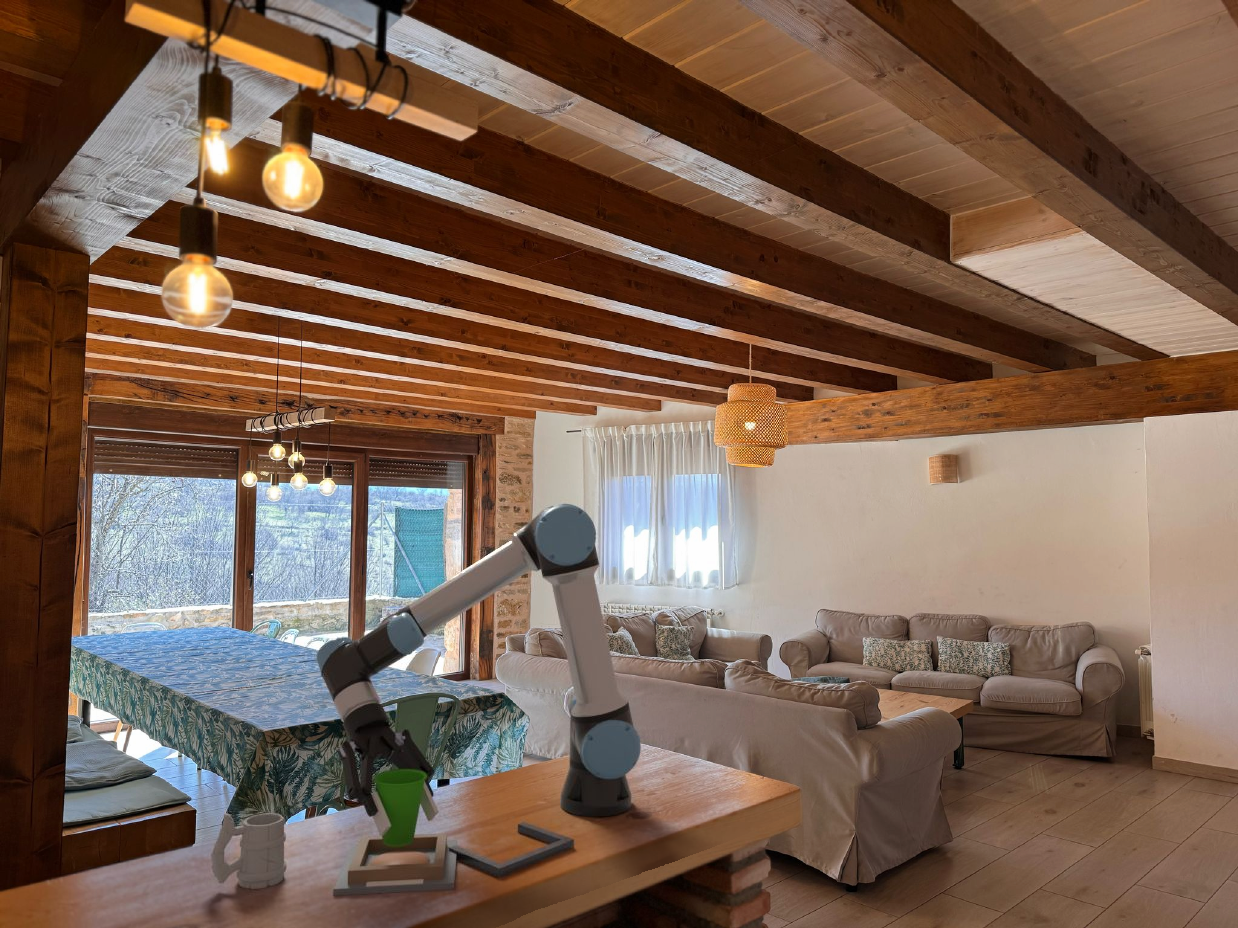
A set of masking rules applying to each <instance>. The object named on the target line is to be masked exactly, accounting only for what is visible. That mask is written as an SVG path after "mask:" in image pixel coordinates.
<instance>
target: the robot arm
mask: <svg viewBox="0 0 1238 928" xmlns="http://www.w3.org/2000/svg"><path fill="white" fill-rule="evenodd" d="M596 531H597V530H596V527H595V524H594V521H593V520H592V518H591V517H590V516H589V514H588V513H587V512H586V511H585V510H583V508H581V507H579V506H577V505H574V504H570V503H562V504H558V503H557V504H555V505H551V506H549V507H546V508H544V509H543V510H542V511H540V512H539V514H537V515H536V516H535V517H533V519H532V520H530V521H528V523H526V525H524V526H523V527H521V528H520V529H518V530H517V531H515V532H514V533H513V534H512V537H511V540H510V541H508V542H506V543H505V544H503V545H501V546H500V547H498V548H497V549H495V550H494V551H492V552H491V553H489V554H488V555H486V556H484V557H482V558H481V559H478V560H477V561H476V562H475V563H473V564H471V565H469V566H468V567H467V568H465V569H463V570H462V571H460V572H459V573H457V574H454V576H452V577H450V578H448V580H445V582H443V583H441V584H439V585H438V586H436V587H434V588H433V589H431V590H429V591H428V592H427V593H425V594H424V595H422V596H420V597H419V598H417V599H415V600H413V601H412V602H411V603H409V604H407V605H406V606H404V607H403V608H401V609H400V610H398V611H396V612H394V613H392V614H390V615H388V616H387V617H385V618H384V619H382V621H381V622H380V623H379V626H378V627H376V628H374V629H373V630H371V631H370V632H369V633H366V634H365V635H363V636H362V637H360V638H358V639H356V640H354V641H353V639H351V637H348V636H339V637H337V638H335V639H330V640H328V641H326V642H325V643H324V644H323V645H322V646H320V648H319V649H318V651H317V653H316V663H317V664H318V668H319V670H320V676H321V677H322V679H323V681H324V684H325V685H326V687H327V690H328V692H329V694H330V697H331V698H332V702H333V704H334V707H335V709H336V710H337V711H336V712H337V714H338V716H339V718H340V720H341V722H343V723H342V724H343V725H342V726H343V728H344V730H345V733H346V735H347V737H348V739H349V741H350V742H349V741H343V743H342V744H341V745H340V747H339V749H338V750H337V754H338V756H339V758H340V760H341V761H342V762H341V763H342V766H343V772H344V780H345V786H346V792H347V793H346V794H347V798H348V799H349V800H350V801H354V800H356V801H357V803H358V804H362V805H363V807H364V809H365V811H366V814H367V816H368V817H369V818H370V817H372V819H373V822H374V824H375V826H376V829H377V831H378V833H379V836H382V835H384V834H385V833H386V832H387V831H388V829H389V828H390V827H391V824H390V821H389V819H388V817H387V814H386V812H385V810H384V807H383V805H382V803H381V800H380V798H379V796H378V793H377V790H376V791H372V789H373V775H374V763H375V762H376V761H378V760H384V759H385V760H386V761H387V762H388V763H392V764H393V765H394V766H396V768H397V769H415V770H420V771H423V772H425V773H426V774H427V778H426V779H425V781H424V786H423V792H422V797H421V802H420V807H421V808H422V810H423V813H424V815H425V817H426V819H427V822H431V821H433V819H434V818H435V817H436V816H437V814H438V813H439V812H440V811H439V809H438V807H437V805H436V802H435V800H434V798H433V797H434V791H433V789H432V787H431V785H430V781H429V780H430V778H431V777H432V776H433V774H434V773H435V770H434V768H433V767H432V765H431V763H430V762H429V761H428V760H427V758H426V757H425V756H424V754H423V753H422V751H421V750H420V748H419V747H418V746H417V744H416V743H415V742H414V741H413V739H412V737H411V733H410V730H409V729H407V728H406V729H403V731H402V732H395V731H394V730H393V729H392V728H391V727H390V726H391V725H390V721H389V720H390V719H389V717H388V715H387V713H386V710H385V708H384V706H383V705H382V704H381V699H380V697H379V695H378V693H377V691H376V688H375V687H374V684H373V683H372V680H371V678H372V677H373V676H375V675H377V674H379V673H380V672H381V671H383V670H385V669H387V668H388V667H390V666H392V665H393V664H395V663H397V662H398V661H400V660H402V659H403V658H405V657H407V656H408V655H411V654H412V653H413V652H415V651H417V649H419V648H420V647H421V646H422V645H424V643H425V637H427V636H428V635H430V634H432V633H433V632H435V631H437V630H438V629H440V628H441V627H442V626H444V625H446V624H447V623H450V622H451V621H452V620H454V619H455V618H457V617H459V616H460V615H462V614H463V613H465V612H466V611H468V610H470V609H472V608H473V607H475V606H476V605H478V604H480V603H481V602H482V601H484V600H485V599H487V598H488V597H490V596H491V595H494V594H495V593H497V592H499V591H500V590H502V589H503V588H505V587H506V586H508V585H509V584H511V583H512V582H515V580H517V579H519V578H520V577H522V576H523V575H525V574H527V573H528V572H530V571H532V572H539V571H541V575H542V576H541V577H542V578H543V579H544V580H545V581H547V582H548V583H550V584H551V588H552V592H553V596H554V600H555V605H556V611H557V614H558V615H557V616H558V619H559V625H560V629H561V633H562V638H563V639H562V640H563V643H564V649H565V653H566V657H567V659H566V660H567V663H568V667H569V672H570V677H571V681H572V686H573V691H574V695H575V696H574V697H573V698H572V699H571V700H570V708H569V717H570V718H569V719H570V722H569V723H570V725H569V727H570V728H569V766H568V767H569V768H568V770H567V774H566V777H565V781H564V783H563V786H562V790H561V792H560V808H561V809H562V810H564V811H565V812H568V813H570V814H573V815H578V816H584V817H597V818H598V817H611V816H616V815H620V814H623V813H625V812H627V811H629V810H630V809H631V808H632V792H631V788H630V786H629V785H630V784H629V783H628V777H627V774H628V773H629V772H631V771H632V770H633V769H634V767H635V766H636V765H637V763H638V761H639V758H640V755H641V747H642V745H641V738H640V735H639V734H638V731H637V730H636V728H635V727H634V721H633V717H632V713H631V707H630V703H629V699H628V698H627V696H624V695H623V694H622V693H620V692H619V687H618V682H617V680H616V679H617V678H616V674H615V670H614V663H613V660H612V655H611V651H610V645H609V641H608V637H607V632H606V626H605V622H604V617H603V612H602V607H601V604H600V603H601V602H600V599H599V598H600V597H599V594H598V589H597V584H596V579H595V573H596V571H597V570H598V568H599V567H600V562H599V557H598V556H599V555H598V552H597V547H596V540H597V537H596V535H597V532H596ZM412 655H413V654H412ZM355 752H356V753H357V754H359V755H360V764H359V765H360V769H361V770H360V777H359V770H358V769H359V768H358V766H357V765H358V764H357V759H356V754H355Z"/></svg>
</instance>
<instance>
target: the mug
mask: <svg viewBox="0 0 1238 928" xmlns="http://www.w3.org/2000/svg"><path fill="white" fill-rule="evenodd" d="M240 834H241V837H240V839H239V847H240V856H239V857H238V858H236V859H234V860H232V861H231V862H227V860H226V859H225V852H226V851H225V849H226V847H227V845H228V844H229V842H230V840H231V839H232V838H233V837H234V836H237V835H240ZM286 837H287V833H286V832H285V817H284V816H282V814H280V813H273V812H271V813H270V812H267V813H265V812H264V813H261V814H255V815H251V816H249V817H247V818H245V819H244V820H243V822H242V825H238V826H236V825H235V822H234V819H233V817H232V815H231V814H229V813H227V812H224V813H223V823H222V826H221V828H220V831H219V834H218V837H217V839H216V841H215V844H214V847H213V849H212V852H211V854H210V859H211V862H212V864H211V870H212V873H213V875H214V877H215V878H216V880H217V882H218V883H219V884H224V883H225V881H226V880H227V879H228V878H229V877H230V876H231V875H232V874H233V873H235V872H236V878H237V879H238V880H237V881H238V886H240V887H241V888H244V889H247V890H248V889H251V890H257V889H259V890H260V889H266V888H267V887H272V886H275V885H277V884H279V883H281V882H282V881H283V880H284V879H285V873H286V871H287V867H288V866H287V862H286V861H285V841H286Z"/></svg>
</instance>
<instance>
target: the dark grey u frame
mask: <svg viewBox="0 0 1238 928" xmlns="http://www.w3.org/2000/svg"><path fill="white" fill-rule="evenodd" d="M517 832H518V833H519V834H522V835H525V836H529V837H530V838H534V839H536V840H537V841H542V842H544V843H547V845H544V846H542V847H539V848H536V849H534V850H531V851H529V852H526V853H523V854H521V855H518V856H515V857H512V858H510V859H507V860H505V861H502V862H499V861H495V860H493V859H491V858H488V857H486V856H484V855H481V854H479V853H477V852H474V851H473V850H472V851H471V850H469V849H467V848H464V847H461V846H459V845H458V844H457V845H455V846H452V847H449V851H451V852H454V853H456V861H459V862H462V863H464V864H466V865H467V866H471V867H473V868H475V869H478V870H480V871H482V872H484V873H487V874H489V875H491V876H494V877H497V878H502V877H504V876H507V875H509V874H512V873H513V872H517V871H519V870H522V869H525V868H527V867H529V866H532V865H535V864H537V863H539V862H543V861H545V860H547V859H549V858H552V857H554V856H557V855H560V854H562V853H564V852H567V851H569V850H572V849H574V848H575V839H574V838H571V837H568V836H564V835H562V834H560V833H557V832H554V831H551V830H548V829H545V828H542V827H540V826H536V825H534V824H532V823H529V822H525V821H523V822H520V823H517Z"/></svg>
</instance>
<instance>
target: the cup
mask: <svg viewBox="0 0 1238 928" xmlns="http://www.w3.org/2000/svg"><path fill="white" fill-rule="evenodd" d="M426 778H427V774H426V773H425V772H423V771H420V770H415V769H399V768H396V769H389V770H385V771H382V772H378V773H377V774H375V776H374V778H373V781H374V782H375V786H376V791H377V793H378V796H379V798H380V800H381V803H382V805H383V807H384V810H385V812H386V814H387V817H388V819H389V821H390V824H391V827H390V828H389V829H388V831H387V832H386V833H385V834H384V835H381V836H382V839H383V841H384V844H385V845H388V846H404V845H408V844H410V843H411V842H412V840H413V839H414V835H415V834H416V828H417V823H418V817H419V813H420V812H419V811H420V808H421V804H420V802H421V797H422V792H423V786H424V781H425V779H426Z"/></svg>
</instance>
